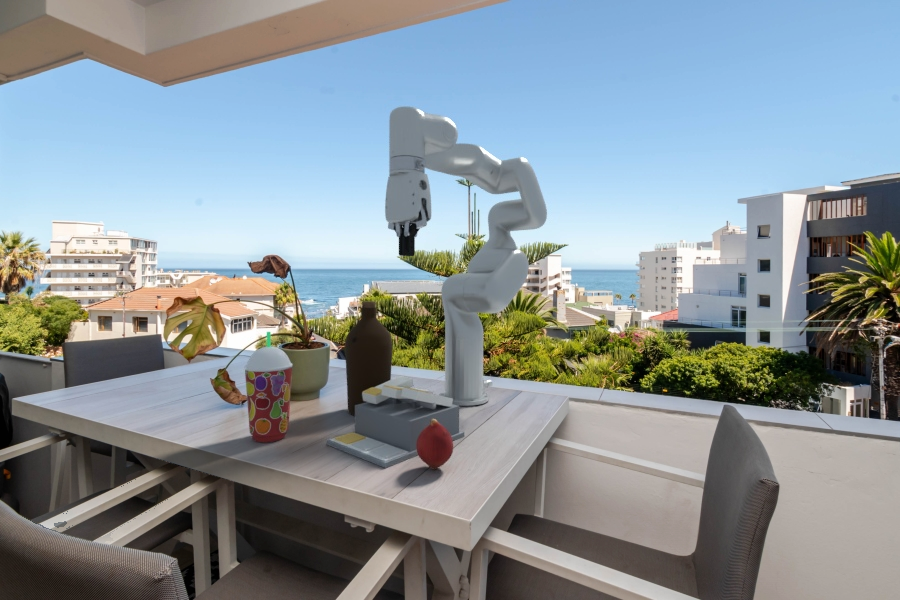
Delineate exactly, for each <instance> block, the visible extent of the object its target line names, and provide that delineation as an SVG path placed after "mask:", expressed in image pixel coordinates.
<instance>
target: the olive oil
mask: <svg viewBox="0 0 900 600" xmlns="http://www.w3.org/2000/svg"><path fill="white" fill-rule="evenodd" d="M376 305H377V302H376V301H373V300H371V301H370V300H369V301H368V300H367V301H366V300H364V301H361V309H360V310H361V311H360V313H361V317H360V318H359V320H358V322H357V323H356V324H355V325H354V326H353V327H352V328H351V329H350V330H349V332H348V333H347V336H346V338H345V341H344V354H345V372H346V373H345V374H346V389H347V390H346V391H347V392H346V393H347V395H346V396H347V411H348V414H349V415H351V416H355V405H358V404H362V403H366V401H363V396H362V393H363V391H365V390H367V389H369V388H371V387H376V386H378V385H380V384H383V383H385V382H387V381H389V380H391V379H392V361H393V360H392V359H393V340H392V336H391V333H390V331H388V329H387V328H386V327H385V326H384V325H383V324H382V323H381V321H379V320H378V318H377V306H376Z"/></svg>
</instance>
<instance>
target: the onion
mask: <svg viewBox="0 0 900 600" xmlns="http://www.w3.org/2000/svg"><path fill="white" fill-rule="evenodd" d="M416 447H417V453H418V455H417V456H418V458H419V459H421V461H423V463H425V464H426V466H428V467H429V468H430V469H431V470H437V469H439V468H440V467H442V466H444V465H445V464H446V463H447V462H448V461H449V460H450V458H451V456H452V455H453V452H454V441H453V440H452V437H451V435H450V433H449V431H448V430H447V429H446V428H445V427H444V426H442V425H441V424H440V423H439V422H437V420H436V419H431V420H430V425H428V426H427V427H426V428H425V429H424V430H423V431H422V432H421V433H420V435H419V436H418V439H417V443H416Z"/></svg>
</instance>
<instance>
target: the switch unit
mask: <svg viewBox="0 0 900 600" xmlns="http://www.w3.org/2000/svg"><path fill="white" fill-rule="evenodd" d="M431 419H436V420H437V422H439V423H440V424H441V425H442V426H444V427H445V428H446V429H447V430H448V431H449V433H450V435H451V437H452V440H453V442H454V441H456V440H458V439H461V438H464V437H465V431H461V430H460V406H458V405H454V404H452V407H448V406H443V405H438V404H436V408H435V409H430V408H426V407H422V406H418V405H417V400H415V401H412V404H410V403H406V402H402V401H399V400H398V398H394V399H391V398H388V399H386V400H384V401H382V402H380V403H378V404H374V403H370V402H366V403H362V404H358V405H355V415H354V431H351V432H348V433H344V434H342V435H338V436H335V437H331V438H328V439H326V441H325V442H326V445H327V446H329V447H332V448H335V449H336V450H339V451H341V452H345V453H346V454H349V455H352V456H355V457H357V458H359V459H362V460H365V461H366V462H370V463H372V464H375V465H377V466H380V467H382V468H385V469H387V468H389V467H392V466H394V465H398V464H400V463H401V462H405V461H406V460H409V459H411V458H412V459H413V458H414V457H416V456H418V453H417V447H416V443H417V439H418V436H419V435H420V433H421V432H422V431H423V430H424V429H425V428H426V427H427V426H428V425H430V420H431Z"/></svg>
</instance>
